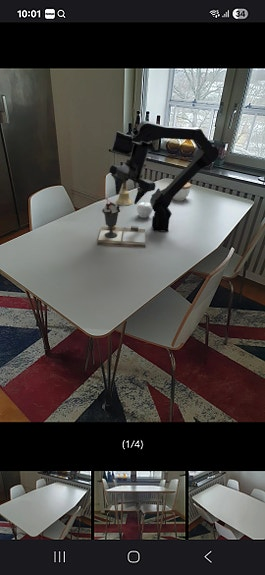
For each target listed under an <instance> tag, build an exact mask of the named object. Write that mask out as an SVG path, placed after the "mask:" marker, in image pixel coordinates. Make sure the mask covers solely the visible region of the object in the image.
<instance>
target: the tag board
mask: <svg viewBox="0 0 265 575" xmlns="http://www.w3.org/2000/svg"><path fill="white" fill-rule="evenodd" d="M109 230H110V228H109V227H108V226H101V228H100V232H99V235H98V238H97V244H96V245H98V246H99V245H102V246H119V247H137V248H146V228H139V226H136V225H131V226H130V227H117V224H116V225H115V226H114V227H113V233H116V234H117V237H115V238H108V237H106V236H105V234H106V233H108V232H109Z"/></svg>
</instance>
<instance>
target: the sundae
mask: <svg viewBox="0 0 265 575" xmlns="http://www.w3.org/2000/svg"><path fill="white" fill-rule="evenodd" d="M105 200H106V204H105V206H104V208H102V210H101V212H102V213H103V214H104V221H105V225H106V227H109V228H110V230H109V232H108V233H106V234H105V236H106V237H108V238H115V237H117V234H116V233H113V227H114V226H115V225H116V226H117V222H118V217H119V213H120V212H121V209H120V207H121V205H118V204H116V203H114V202H112V201H111V200H109V199H108V198H107V197H106V198H105Z"/></svg>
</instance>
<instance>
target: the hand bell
mask: <svg viewBox="0 0 265 575" xmlns="http://www.w3.org/2000/svg"><path fill="white" fill-rule="evenodd" d="M127 182H128V181H123V184H122V189H121V190H120V192H119V194H118V195H119V196H118V199H117V200H116V201H115V205H117V206H118V205H119V206H122V207H123V206H124V207H126V206H130V205H133V201H132V200H131V198H130V193H129V190H127Z"/></svg>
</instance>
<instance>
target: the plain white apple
mask: <svg viewBox="0 0 265 575" xmlns="http://www.w3.org/2000/svg"><path fill="white" fill-rule="evenodd" d="M136 211H137V214H138V216H139V217H140V218H142V219H143V218H144V219H146V218H147V219H148V218H149V217H150V216H151V214H152V212H153V211H154V210H153V209H152V207H151V204H150V202H147V201H146V199H143V201H142V202H140V203H137V205H136Z"/></svg>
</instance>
